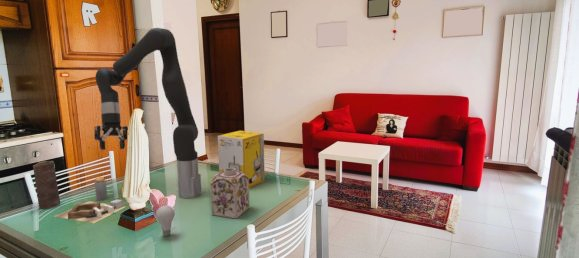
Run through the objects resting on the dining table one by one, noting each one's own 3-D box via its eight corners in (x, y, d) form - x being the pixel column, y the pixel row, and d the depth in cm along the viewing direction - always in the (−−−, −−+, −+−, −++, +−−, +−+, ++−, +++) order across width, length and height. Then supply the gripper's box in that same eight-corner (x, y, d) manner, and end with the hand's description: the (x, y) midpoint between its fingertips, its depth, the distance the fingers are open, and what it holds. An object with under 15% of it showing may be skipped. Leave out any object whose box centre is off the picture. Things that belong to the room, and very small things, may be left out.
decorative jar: (250, 207, 142) (249, 166, 139) (237, 219, 131) (235, 174, 128) (225, 204, 146) (223, 163, 143) (210, 215, 135) (208, 171, 132)
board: (126, 208, 142) (126, 206, 142) (94, 225, 127) (93, 223, 127) (89, 203, 148) (89, 201, 148) (54, 218, 133) (53, 216, 133)
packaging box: (264, 180, 176) (263, 133, 172) (244, 190, 163) (242, 139, 158) (240, 175, 185) (239, 130, 180) (219, 184, 171) (217, 135, 167)
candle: (49, 212, 139) (42, 165, 135) (34, 210, 140) (27, 164, 137) (64, 204, 146) (59, 160, 143) (50, 203, 148) (44, 159, 144)
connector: (110, 199, 152) (107, 177, 150) (102, 203, 148) (99, 180, 146) (102, 198, 153) (100, 176, 151) (94, 202, 149) (91, 179, 147)
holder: (100, 207, 141) (100, 202, 140) (93, 216, 132) (92, 211, 132) (77, 209, 139) (76, 204, 138) (68, 218, 130) (67, 213, 130)
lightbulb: (160, 231, 122) (158, 202, 120) (177, 231, 122) (175, 202, 120) (155, 240, 116) (152, 210, 114) (173, 239, 116) (171, 209, 114)
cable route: (126, 206, 142) (126, 200, 141) (99, 220, 129) (98, 214, 128) (112, 204, 144) (112, 198, 143) (84, 218, 131) (84, 211, 130)
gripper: (99, 111, 144) (101, 149, 143) (130, 112, 156) (132, 148, 155) (89, 113, 148) (92, 150, 147) (121, 115, 160) (123, 149, 159)
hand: (112, 149), depth 151 cm, fingers open, 8 cm apart
